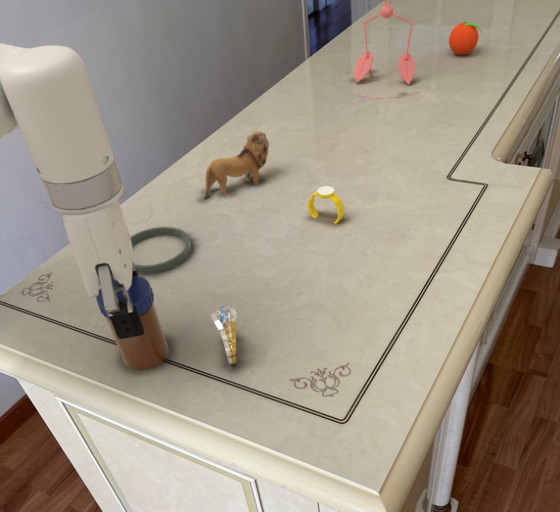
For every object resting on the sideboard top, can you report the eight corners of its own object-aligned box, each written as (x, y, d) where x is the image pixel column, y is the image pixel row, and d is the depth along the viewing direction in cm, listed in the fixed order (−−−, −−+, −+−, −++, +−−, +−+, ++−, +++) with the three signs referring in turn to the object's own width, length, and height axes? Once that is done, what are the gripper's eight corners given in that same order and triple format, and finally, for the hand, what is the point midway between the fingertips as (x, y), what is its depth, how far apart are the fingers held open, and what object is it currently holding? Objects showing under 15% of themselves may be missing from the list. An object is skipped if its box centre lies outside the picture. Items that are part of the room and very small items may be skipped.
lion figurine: (263, 171, 113) (257, 124, 106) (279, 180, 109) (274, 133, 103) (197, 199, 108) (186, 151, 101) (211, 210, 104) (201, 161, 98)
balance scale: (339, 72, 146) (334, -108, 121) (443, 78, 136) (460, -117, 111) (315, 96, 136) (304, -94, 112) (425, 104, 127) (439, -102, 102)
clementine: (484, 50, 146) (488, 18, 141) (475, 60, 142) (479, 27, 137) (453, 48, 149) (456, 17, 144) (443, 58, 145) (446, 25, 140)
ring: (246, 374, 74) (236, 326, 68) (221, 378, 74) (209, 330, 68) (244, 338, 79) (235, 290, 73) (221, 341, 79) (209, 294, 73)
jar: (116, 364, 78) (89, 301, 71) (147, 338, 81) (125, 275, 74) (147, 380, 75) (123, 317, 68) (179, 353, 78) (159, 289, 71)
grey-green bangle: (108, 266, 95) (103, 254, 93) (157, 231, 101) (154, 220, 99) (157, 286, 90) (154, 274, 88) (206, 249, 96) (203, 237, 94)
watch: (306, 223, 98) (303, 190, 94) (315, 215, 99) (312, 182, 95) (338, 231, 95) (336, 197, 91) (346, 222, 97) (345, 189, 92)
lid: (126, 328, 68) (121, 315, 67) (89, 310, 71) (84, 298, 70) (165, 297, 72) (161, 284, 70) (129, 281, 75) (124, 269, 74)
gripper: (56, 153, 66) (106, 282, 79) (35, 233, 54) (98, 370, 67) (122, 142, 67) (161, 272, 79) (116, 219, 54) (163, 358, 67)
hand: (131, 316), depth 73 cm, fingers closed on lid, 6 cm apart
